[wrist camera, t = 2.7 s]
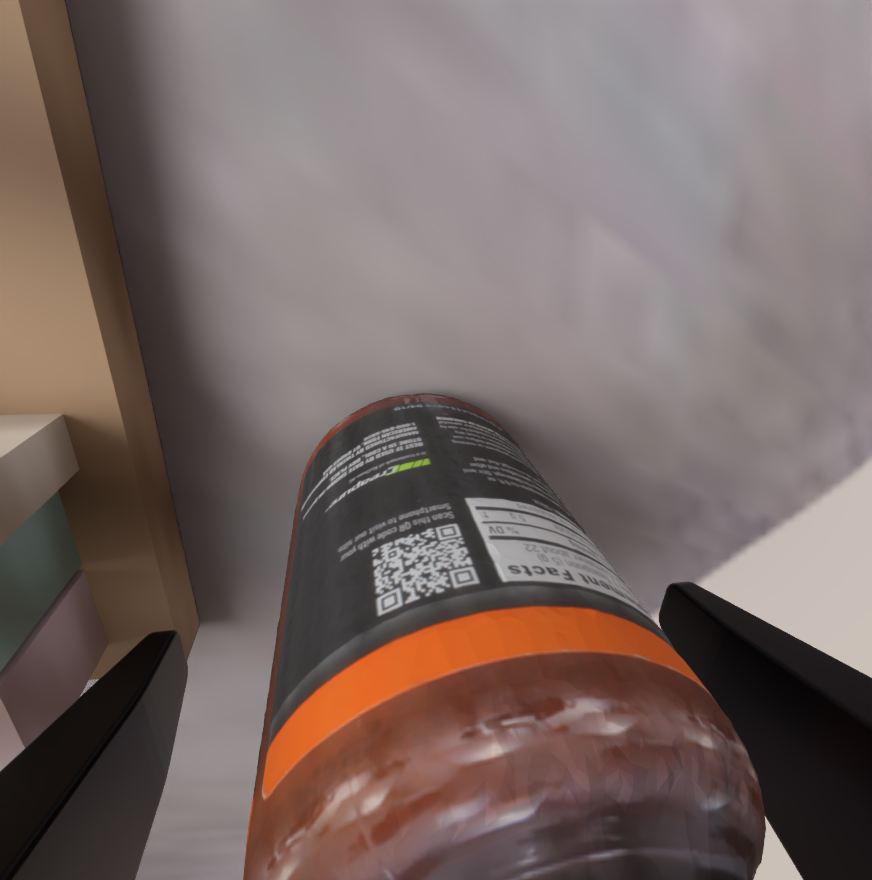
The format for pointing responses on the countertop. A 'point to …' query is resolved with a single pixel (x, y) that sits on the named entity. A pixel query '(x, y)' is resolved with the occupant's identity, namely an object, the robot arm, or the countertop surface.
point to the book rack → (70, 404)
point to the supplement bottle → (478, 682)
